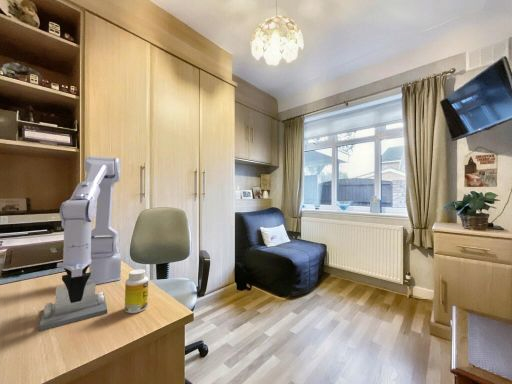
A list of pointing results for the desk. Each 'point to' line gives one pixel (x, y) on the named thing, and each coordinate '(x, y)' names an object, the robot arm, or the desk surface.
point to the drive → (66, 306)
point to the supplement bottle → (136, 291)
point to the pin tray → (71, 313)
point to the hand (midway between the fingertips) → (76, 295)
